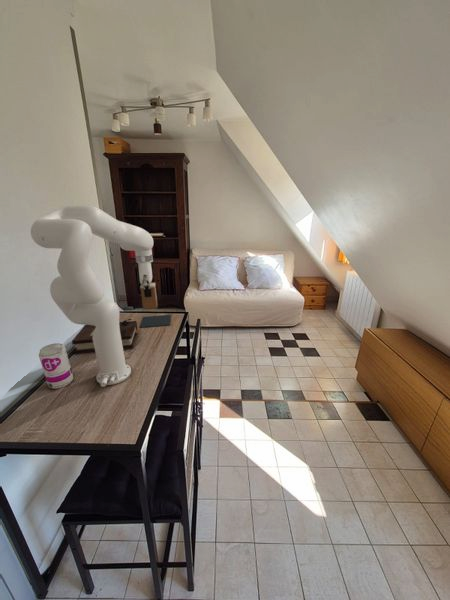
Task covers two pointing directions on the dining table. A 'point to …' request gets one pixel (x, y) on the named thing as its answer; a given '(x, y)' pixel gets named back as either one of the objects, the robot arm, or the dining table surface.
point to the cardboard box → (149, 301)
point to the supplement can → (56, 365)
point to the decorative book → (85, 335)
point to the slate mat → (156, 321)
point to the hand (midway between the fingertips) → (149, 294)
